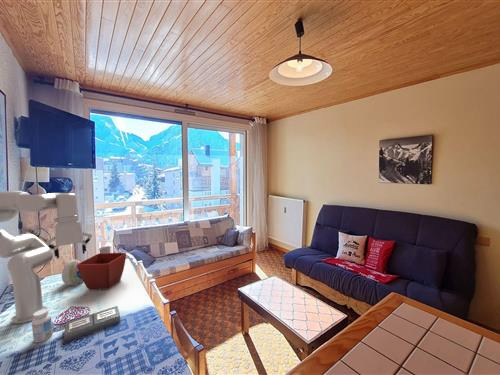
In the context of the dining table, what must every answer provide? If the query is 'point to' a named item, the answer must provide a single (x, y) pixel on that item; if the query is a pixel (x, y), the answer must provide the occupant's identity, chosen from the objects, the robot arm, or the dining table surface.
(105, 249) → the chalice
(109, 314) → the panel
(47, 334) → the pill bottle
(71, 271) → the decorative egg
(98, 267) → the plant pot
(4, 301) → the dining table surface
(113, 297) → the dining table surface
